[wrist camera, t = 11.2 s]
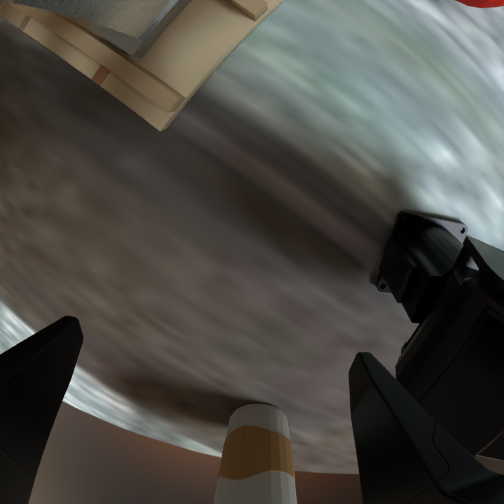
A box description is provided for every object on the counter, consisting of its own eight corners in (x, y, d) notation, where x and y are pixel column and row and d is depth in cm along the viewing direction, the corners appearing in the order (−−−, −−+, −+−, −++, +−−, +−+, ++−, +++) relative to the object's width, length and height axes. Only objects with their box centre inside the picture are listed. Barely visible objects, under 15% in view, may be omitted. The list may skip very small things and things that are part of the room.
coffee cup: (241, 438, 35) (234, 546, 21) (207, 405, 31) (188, 532, 18) (305, 425, 33) (312, 541, 19) (279, 389, 29) (281, 531, 16)
